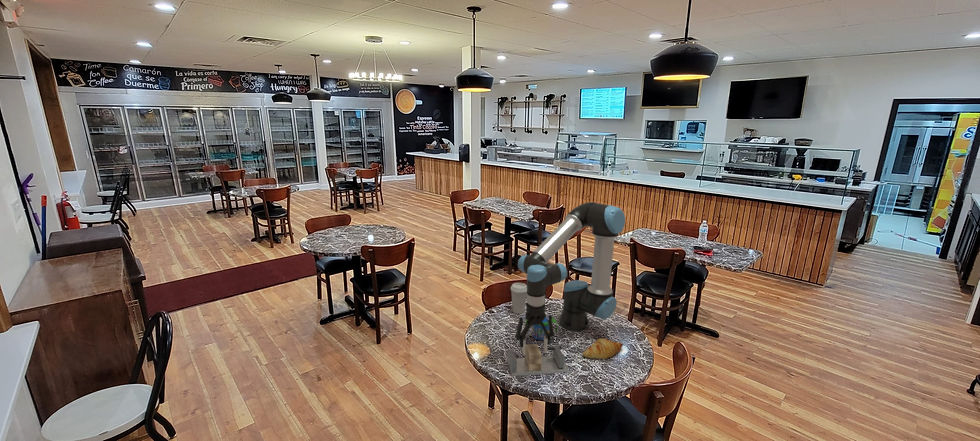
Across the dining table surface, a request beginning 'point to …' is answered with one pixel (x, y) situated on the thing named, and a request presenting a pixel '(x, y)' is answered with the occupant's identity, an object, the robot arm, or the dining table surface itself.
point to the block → (533, 357)
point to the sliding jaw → (557, 355)
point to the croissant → (603, 349)
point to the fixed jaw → (512, 360)
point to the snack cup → (541, 329)
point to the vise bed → (546, 367)
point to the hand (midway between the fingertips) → (534, 352)
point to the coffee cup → (518, 297)
